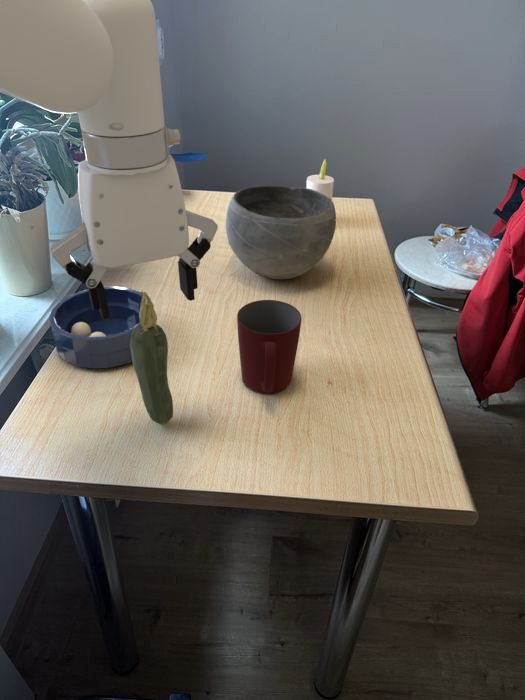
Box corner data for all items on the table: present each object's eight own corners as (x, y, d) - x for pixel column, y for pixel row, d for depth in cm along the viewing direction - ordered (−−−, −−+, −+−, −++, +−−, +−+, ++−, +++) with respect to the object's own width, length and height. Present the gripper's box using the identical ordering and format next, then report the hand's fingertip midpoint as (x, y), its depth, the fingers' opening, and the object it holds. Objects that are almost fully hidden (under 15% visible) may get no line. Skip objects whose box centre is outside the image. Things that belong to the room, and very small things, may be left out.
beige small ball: (92, 319, 85) (95, 335, 84) (85, 329, 87) (87, 345, 85) (74, 317, 83) (76, 333, 82) (67, 327, 85) (69, 343, 83)
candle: (298, 219, 130) (302, 157, 121) (320, 215, 132) (326, 153, 124) (311, 229, 125) (317, 164, 117) (334, 224, 128) (341, 161, 119)
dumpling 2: (93, 349, 80) (91, 329, 80) (85, 353, 82) (83, 334, 82) (112, 348, 82) (110, 329, 82) (104, 352, 84) (102, 334, 84)
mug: (299, 413, 74) (305, 348, 67) (236, 412, 73) (235, 347, 67) (294, 360, 83) (299, 300, 77) (237, 360, 83) (237, 299, 76)
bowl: (342, 293, 101) (352, 218, 92) (232, 299, 98) (231, 222, 89) (316, 246, 118) (322, 178, 109) (221, 250, 115) (220, 181, 106)
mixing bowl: (65, 382, 77) (57, 349, 74) (50, 328, 89) (43, 297, 85) (168, 357, 83) (165, 325, 80) (142, 309, 94) (138, 279, 91)
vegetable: (172, 439, 69) (158, 307, 57) (139, 437, 69) (118, 306, 57) (177, 415, 72) (165, 287, 61) (146, 414, 72) (128, 286, 61)
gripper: (199, 129, 55) (207, 274, 66) (23, 146, 49) (62, 304, 59) (227, 148, 50) (230, 303, 60) (33, 170, 44) (73, 339, 54)
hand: (146, 303), depth 60 cm, fingers open, 9 cm apart
